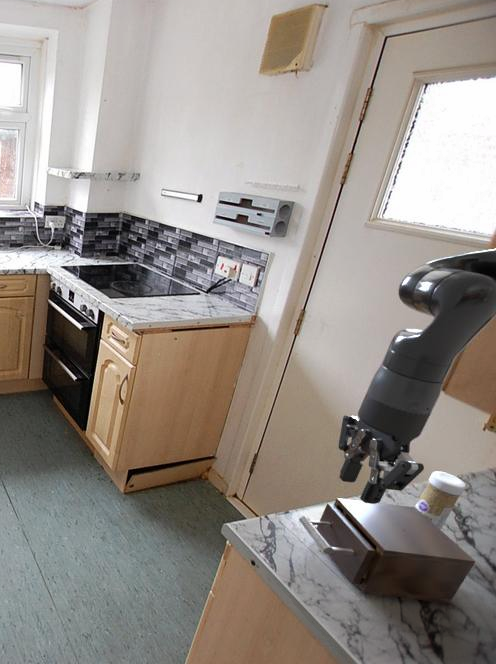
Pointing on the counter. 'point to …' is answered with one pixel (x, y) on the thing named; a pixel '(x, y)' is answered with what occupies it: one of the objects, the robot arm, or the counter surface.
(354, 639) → the counter surface
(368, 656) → the counter surface
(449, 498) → the sprinkles bottle
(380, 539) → the cabinet
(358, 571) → the drawer
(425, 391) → the robot arm
